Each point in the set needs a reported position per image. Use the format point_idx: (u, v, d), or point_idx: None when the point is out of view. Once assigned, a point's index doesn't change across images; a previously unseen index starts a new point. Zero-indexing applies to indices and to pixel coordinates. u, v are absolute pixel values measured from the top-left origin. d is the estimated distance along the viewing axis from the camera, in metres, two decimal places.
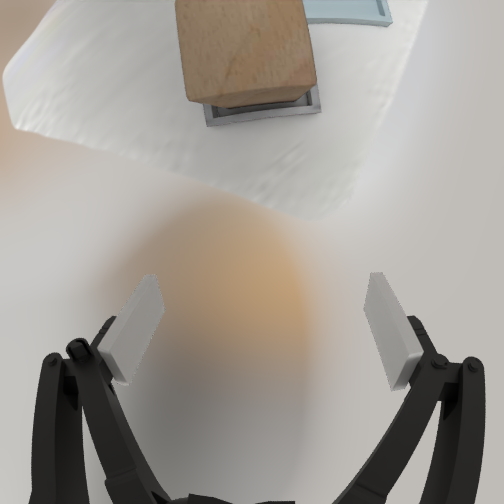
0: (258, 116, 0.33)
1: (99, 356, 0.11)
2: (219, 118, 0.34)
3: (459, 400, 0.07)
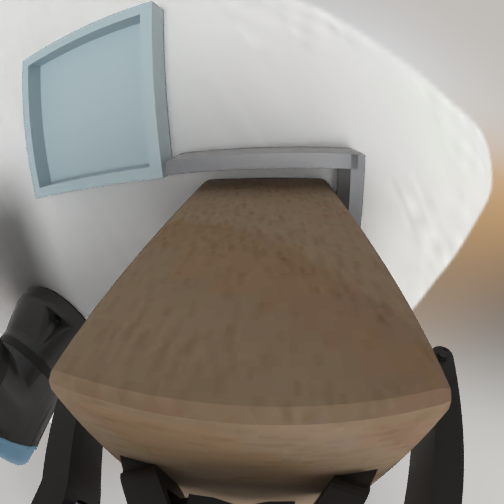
0: None
1: None
2: None
3: None
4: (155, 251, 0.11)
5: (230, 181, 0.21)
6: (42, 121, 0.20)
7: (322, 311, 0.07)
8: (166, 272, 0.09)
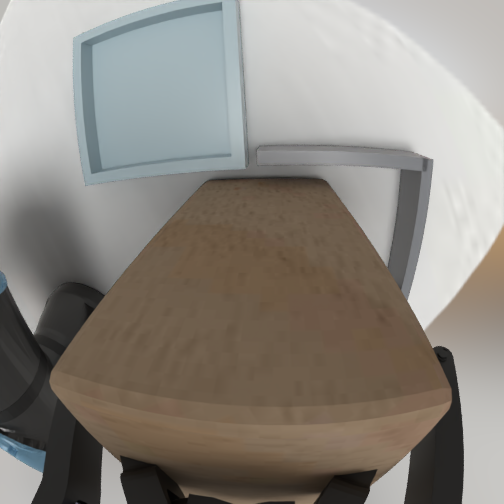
0: (416, 254, 0.21)
1: None
2: None
3: None
4: (155, 251, 0.11)
5: (230, 181, 0.21)
6: (94, 103, 0.20)
7: (323, 311, 0.07)
8: (167, 272, 0.09)
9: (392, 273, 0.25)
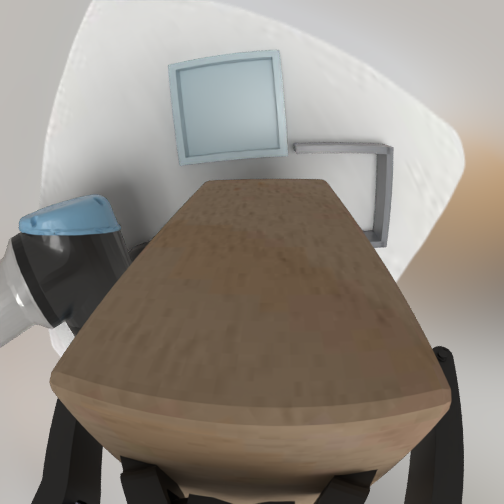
0: (389, 203, 0.36)
1: None
2: (382, 236, 0.38)
3: None
4: (155, 252, 0.11)
5: (230, 181, 0.21)
6: (184, 112, 0.35)
7: (322, 312, 0.07)
8: (167, 273, 0.09)
9: (377, 219, 0.40)
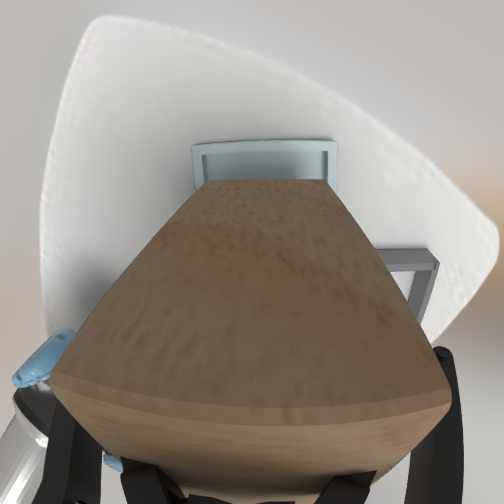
0: (422, 313, 0.33)
1: None
2: None
3: None
4: (155, 252, 0.11)
5: (230, 181, 0.21)
6: None
7: (322, 312, 0.07)
8: (166, 273, 0.09)
9: None
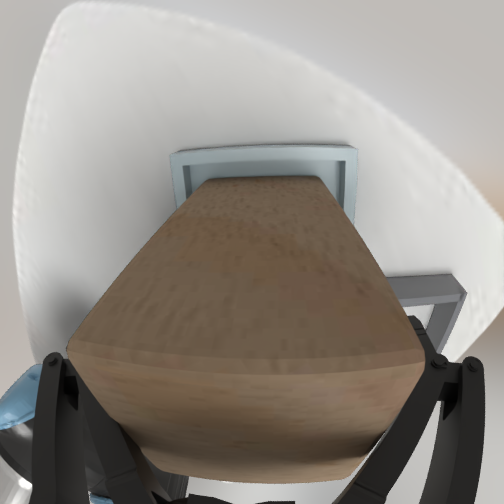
0: (442, 346, 0.27)
1: None
2: None
3: (459, 400, 0.07)
4: (161, 240, 0.12)
5: (229, 179, 0.22)
6: None
7: (307, 285, 0.09)
8: (172, 257, 0.11)
9: None
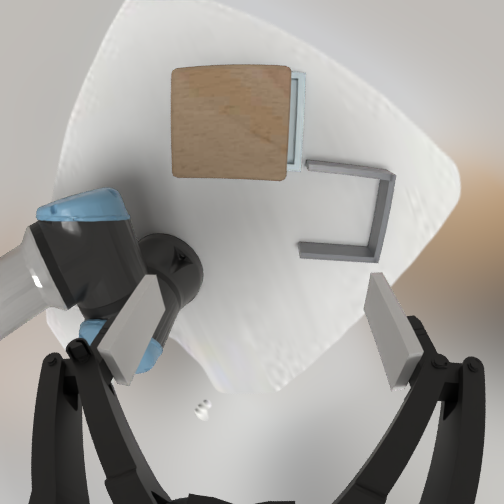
0: (385, 225, 0.41)
1: (99, 356, 0.11)
2: (376, 253, 0.43)
3: (459, 400, 0.07)
4: None
5: None
6: None
7: None
8: None
9: (372, 237, 0.44)
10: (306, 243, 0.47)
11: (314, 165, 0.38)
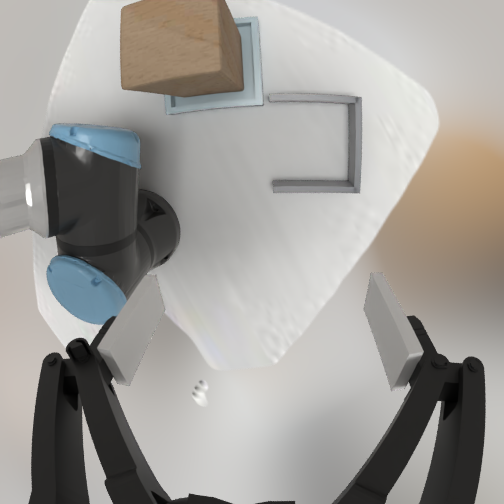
0: (360, 149, 0.38)
1: (99, 356, 0.11)
2: (355, 181, 0.40)
3: (459, 400, 0.07)
4: None
5: None
6: None
7: None
8: None
9: (350, 168, 0.41)
10: (280, 181, 0.44)
11: (274, 94, 0.35)
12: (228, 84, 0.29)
